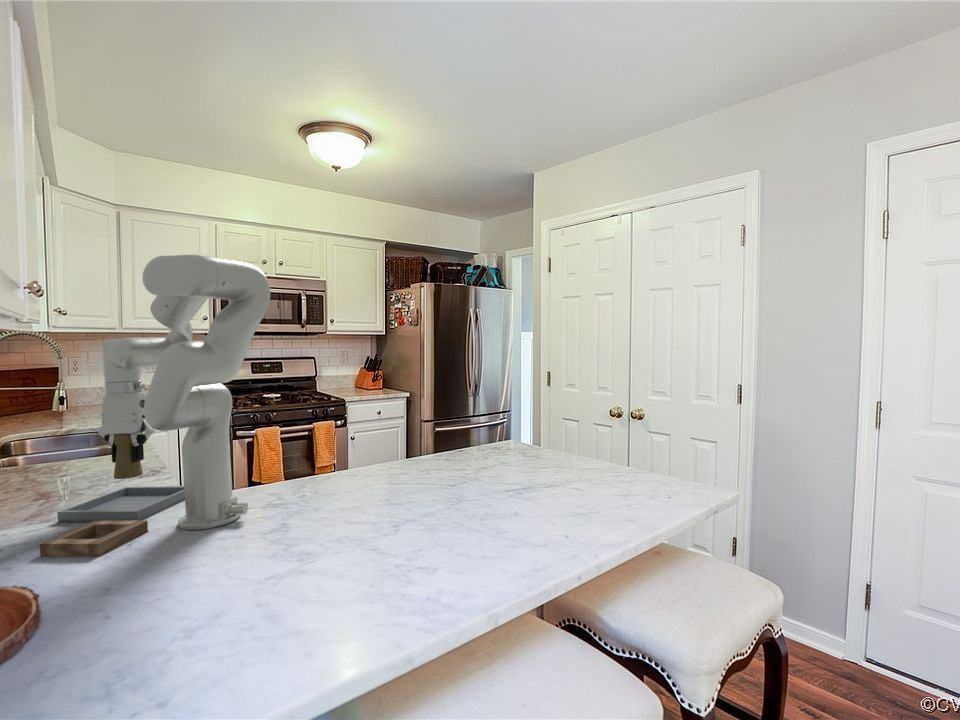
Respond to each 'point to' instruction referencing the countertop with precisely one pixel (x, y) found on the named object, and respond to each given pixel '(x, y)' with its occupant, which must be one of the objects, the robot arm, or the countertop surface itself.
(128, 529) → the socket block
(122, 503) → the tray
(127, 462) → the cork
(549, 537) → the countertop surface
